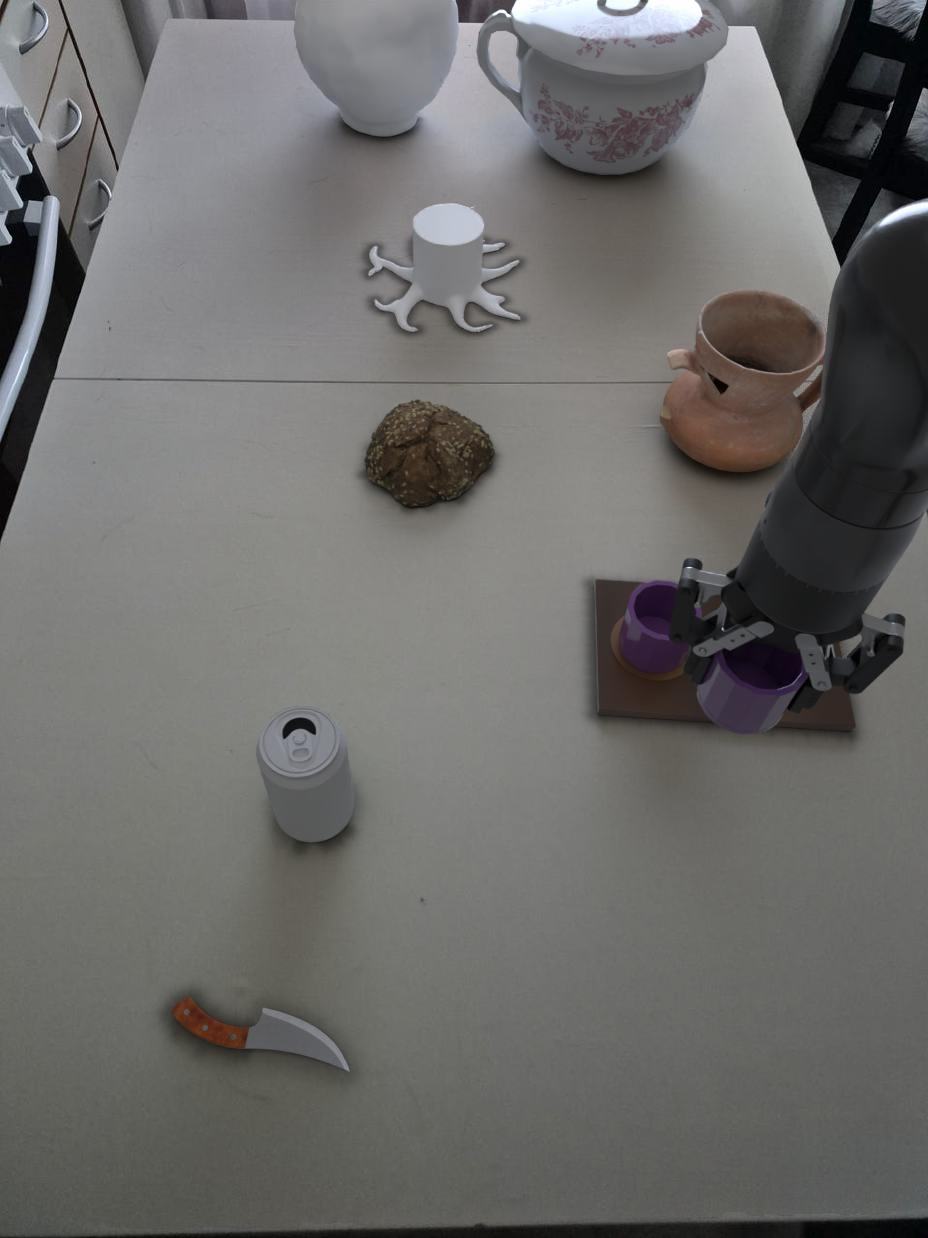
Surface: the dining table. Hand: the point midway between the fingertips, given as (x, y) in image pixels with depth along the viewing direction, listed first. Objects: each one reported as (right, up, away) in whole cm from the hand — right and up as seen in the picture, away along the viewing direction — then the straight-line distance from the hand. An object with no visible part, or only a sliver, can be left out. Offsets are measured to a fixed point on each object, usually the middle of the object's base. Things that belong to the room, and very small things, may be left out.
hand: (745, 687), depth 67 cm
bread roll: (-24, +21, +33) cm, 45 cm away
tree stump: (-22, +45, +50) cm, 71 cm away
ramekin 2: (0, -1, +1) cm, 1 cm away
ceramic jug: (+9, +24, +36) cm, 45 cm away
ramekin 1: (-3, +2, +19) cm, 20 cm away
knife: (-34, -24, +1) cm, 41 cm away
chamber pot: (-1, +71, +68) cm, 98 cm away
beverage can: (-31, -11, +11) cm, 35 cm away
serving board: (+3, +1, +20) cm, 21 cm away
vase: (-32, +76, +70) cm, 108 cm away
